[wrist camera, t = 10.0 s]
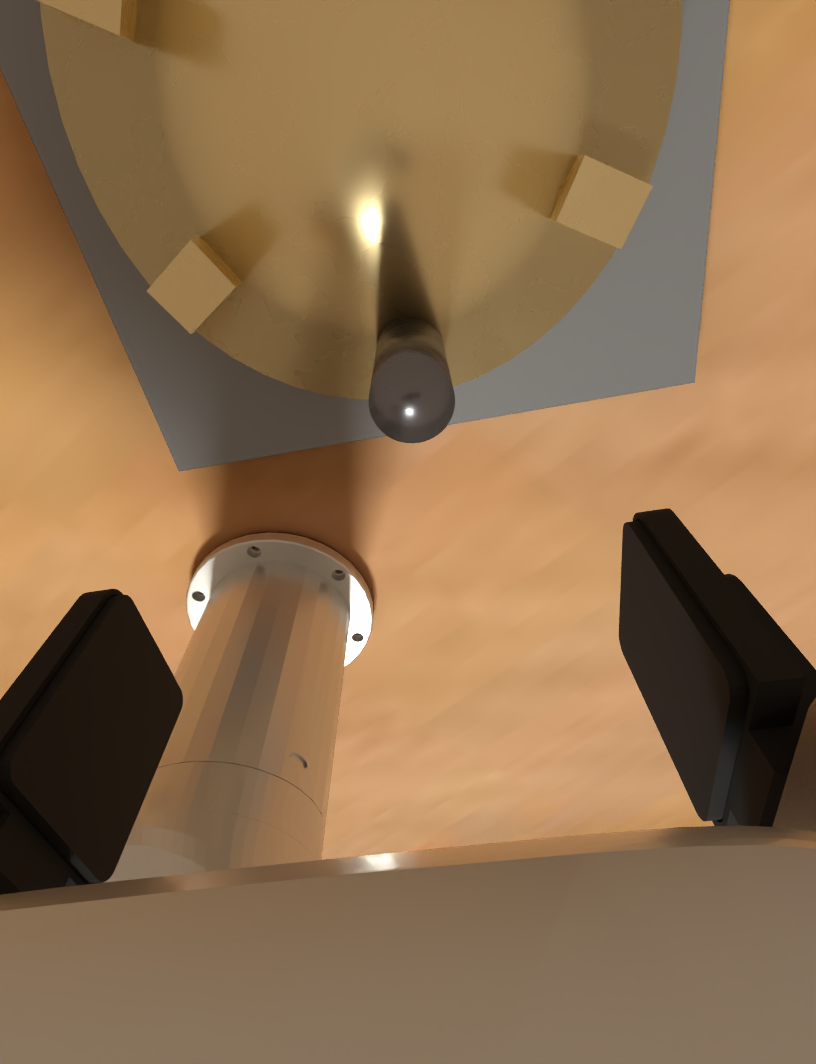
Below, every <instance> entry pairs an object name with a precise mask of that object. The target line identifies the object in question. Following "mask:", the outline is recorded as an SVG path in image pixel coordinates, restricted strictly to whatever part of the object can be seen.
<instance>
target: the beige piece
mask: <svg viewBox="0 0 816 1064" xmlns="http://www.w3.org/2000/svg"><path fill="white" fill-rule="evenodd" d="M36 1H39V2H40V10H41V20H42V27H43V34H44V40H45V47H46V53H47V60H48V67H49V72H50V76H51V80H52V84H53V88H54V92H55V95H56V99H57V103H58V107H59V111H60V115H61V119H62V122H63V125H64V128H65V131H66V133H67V136H68V139H69V142H70V145H71V147H72V150H73V153H74V156H75V158H76V161H77V164H78V167H79V169H80V171H81V173H82V175H83V177H84V180H85V182H86V184H87V186H88V188H89V190H90V192H91V194H92V196H93V198H94V201H95V203H96V205H97V207H98V209H99V211H100V213H101V214H102V216H103V218H104V219H105V221H106V223H107V224H108V226H109V228H110V229H111V231H112V233H113V234H114V236H115V238H116V239H117V241H118V243H119V244H120V246H121V248H122V249H123V250H124V252H125V253H126V254H127V256H128V257H129V258H130V260H131V261H132V263H133V264H134V265H135V267H136V268H137V269H138V271H139V272H140V273H141V275H142V276H143V277H144V279H145V280H146V281H147V283H148V284H149V285H150V287H149V289H148V290H147V292H148V293H149V294H150V295H151V296H152V297H153V298H154V299H155V300H156V301H157V302H158V303H159V304H160V305H161V306H162V307H163V308H164V309H165V310H166V311H167V312H168V313H169V314H170V315H172V316H173V317H174V318H175V319H176V320H177V321H178V322H179V323H180V324H181V325H182V326H183V327H184V328H185V329H186V330H187V331H188V332H189V333H190V334H192V333H194V332H195V331H197V332H198V333H199V334H200V335H201V336H202V337H204V338H205V339H207V340H208V341H209V342H211V343H212V344H214V345H215V346H217V347H218V348H219V349H221V350H222V351H224V352H225V353H227V354H228V355H229V356H231V357H232V358H234V359H236V360H238V361H239V362H241V363H243V364H245V365H247V366H249V367H250V368H252V369H254V370H256V371H258V372H260V373H261V374H264V375H266V376H268V377H271V378H273V379H276V380H278V381H281V382H283V383H286V384H288V385H291V386H293V387H297V388H301V389H305V390H308V391H312V392H316V393H319V394H323V395H329V396H336V397H343V398H351V399H369V411H370V414H371V417H372V419H373V421H374V423H375V424H376V426H377V427H378V428H379V429H380V430H381V431H382V432H383V433H384V434H385V435H387V436H388V437H390V438H392V439H394V440H397V441H400V442H405V443H419V442H423V441H426V440H429V439H431V438H433V437H435V436H436V435H438V434H439V433H440V432H442V431H443V430H444V429H445V427H446V426H447V425H448V423H449V422H450V420H451V418H452V415H453V413H454V408H455V394H454V389H453V387H454V386H456V385H459V384H462V383H464V382H467V381H469V380H472V379H475V378H477V377H480V376H481V375H483V374H485V373H487V372H489V371H491V370H493V369H494V368H496V367H498V366H500V365H502V364H504V363H506V362H508V361H509V360H511V359H512V358H513V357H515V356H516V355H518V354H519V353H521V352H522V351H523V350H525V349H526V348H528V347H529V346H531V345H532V344H533V343H535V342H536V341H537V340H538V339H540V338H541V337H542V336H543V335H544V334H545V333H546V332H547V331H549V330H550V329H551V328H552V327H553V326H554V325H555V324H556V323H558V322H559V321H560V320H561V319H562V318H563V317H564V316H565V315H566V314H567V313H568V312H569V310H570V309H571V308H572V307H573V306H574V305H575V304H576V303H577V301H578V300H579V299H580V298H581V297H582V296H583V295H584V294H585V293H586V291H587V290H588V289H589V288H590V286H591V285H592V284H593V282H594V281H595V279H596V278H597V277H598V275H599V274H600V272H601V271H602V270H603V268H604V267H605V265H606V264H607V263H608V261H609V260H610V258H611V257H612V255H613V254H614V252H615V250H616V248H619V249H622V247H623V245H624V243H625V241H626V239H627V237H628V235H629V233H630V231H631V229H632V227H633V225H634V223H635V221H636V219H637V217H638V215H639V213H640V211H641V209H642V207H643V205H644V203H645V201H646V199H647V197H648V195H649V193H650V191H651V189H652V187H653V186H652V185H650V184H649V181H650V179H651V176H652V173H653V170H654V167H655V164H656V161H657V158H658V154H659V151H660V148H661V145H662V142H663V139H664V136H665V132H666V128H667V123H668V119H669V114H670V109H671V104H672V100H673V95H674V90H675V86H676V80H677V71H678V61H679V52H680V43H681V34H682V0H36Z"/></svg>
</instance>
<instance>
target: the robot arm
mask: <svg viewBox="0 0 816 1064" xmlns="http://www.w3.org/2000/svg"><path fill="white" fill-rule="evenodd" d="M186 610H187V614H188V617H189V621H190V624H191V626H192V628H193V630H194V633H193V636H192V638H191V640H190V642H189V644H188V647H187V649H186V651H185V653H184V655H183V658H182V660H181V662H180V664H179V666H178V669H177V671H176V673H175V675H174V676H173V674H172V672H171V670H170V668H169V666H168V665H167V663H166V661H165V659H164V657H163V655H162V654H161V652H160V650H159V648H158V646H157V644H156V643H155V641H154V639H153V637H152V635H151V633H150V632H149V630H148V628H147V626H146V624H145V622H144V621H143V619H142V617H141V615H140V613H139V611H138V610H137V608H136V606H135V604H134V602H133V600H132V599H131V598H130V597H129V596H128V595H123V594H122V593H121V592H120V591H119V590H117V589H109V590H102V591H95V592H88V593H84V594H82V595H81V596H80V597H79V598H78V600H77V601H76V602H75V603H74V605H73V606H72V607H71V609H70V610H69V611H68V613H67V614H66V615H65V616H64V618H63V619H62V620H61V622H60V623H59V624H58V626H57V627H56V628H55V629H54V631H53V632H52V633H51V635H50V636H49V637H48V639H47V640H46V641H45V642H44V644H43V645H42V646H41V648H40V649H39V650H38V652H37V653H36V654H35V655H34V657H33V658H32V659H31V661H30V662H29V663H28V665H27V666H26V667H25V668H24V670H23V671H22V672H21V674H20V675H19V676H18V678H17V679H16V680H15V681H14V683H13V684H12V685H11V687H10V688H9V689H8V691H7V692H6V693H5V694H4V696H3V697H2V698H1V700H0V1064H816V670H815V668H814V667H813V666H812V665H811V664H810V663H809V661H808V660H807V659H806V658H805V657H804V655H803V654H802V653H801V652H800V651H799V649H798V648H797V647H796V646H795V645H794V643H793V642H792V641H791V640H790V639H789V637H788V636H787V635H786V634H785V633H784V632H783V630H782V629H781V628H780V627H779V626H778V624H777V623H776V622H775V621H774V620H773V618H772V617H771V616H770V615H769V614H768V612H767V611H766V610H765V609H764V608H763V606H762V605H761V604H760V603H759V602H758V601H757V599H756V598H755V597H754V596H753V595H752V593H751V592H750V591H749V590H748V589H747V587H746V586H745V585H744V584H743V583H742V581H740V580H739V579H738V578H737V577H736V576H734V575H731V574H726V575H724V574H723V573H722V571H721V570H720V569H719V568H718V567H717V565H716V564H715V563H714V562H713V560H712V559H711V558H710V557H709V555H708V554H707V553H706V552H705V550H704V549H703V548H702V547H701V546H700V544H699V543H698V542H697V541H696V539H695V538H694V537H693V536H692V534H691V533H690V532H689V531H688V529H687V528H686V527H685V526H684V525H683V523H682V522H681V521H680V520H679V518H678V517H677V516H676V515H675V513H674V512H673V511H672V510H671V509H660V510H653V511H646V512H639V513H636V514H635V515H634V517H633V522H626V523H625V524H624V526H623V541H622V567H621V592H620V617H619V640H620V645H621V649H622V652H623V655H624V657H625V659H626V661H627V663H628V665H629V668H630V670H631V672H632V674H633V676H634V678H635V680H636V683H637V685H638V687H639V689H640V691H641V693H642V696H643V698H644V700H645V702H646V704H647V706H648V709H649V711H650V713H651V715H652V717H653V719H654V721H655V724H656V726H657V728H658V730H659V732H660V734H661V737H662V739H663V741H664V743H665V745H666V747H667V750H668V752H669V754H670V756H671V758H672V760H673V762H674V765H675V767H676V769H677V771H678V773H679V775H680V778H681V780H682V782H683V784H684V786H685V788H686V791H687V793H688V795H689V797H690V799H691V801H692V803H693V806H694V808H695V810H696V812H697V814H698V816H699V817H700V818H701V819H702V820H703V821H711V820H712V821H713V823H714V825H715V826H708V827H678V828H665V829H653V830H640V831H627V832H614V833H601V834H589V835H576V836H564V837H553V838H543V839H532V840H522V841H511V842H501V843H490V844H480V845H469V846H459V847H449V848H438V849H428V850H417V851H407V852H396V853H386V854H376V855H366V856H356V857H346V858H336V859H326V860H321V859H322V850H323V842H324V834H325V822H326V814H327V806H328V798H329V789H330V781H331V773H332V765H333V757H334V748H335V740H336V732H337V724H338V715H339V707H340V699H341V691H342V682H343V674H344V666H346V665H347V664H349V663H350V662H351V661H353V660H354V659H355V658H356V657H357V656H358V655H359V654H360V653H361V651H362V650H363V648H364V646H365V645H366V643H367V642H368V639H369V636H370V633H371V631H372V623H373V601H372V598H371V594H370V591H369V588H368V586H367V584H366V583H365V581H364V579H363V577H362V575H361V574H360V573H359V572H358V571H357V569H356V568H355V567H354V566H353V565H352V564H351V563H350V562H349V561H348V560H347V559H345V558H344V557H343V556H342V555H340V554H339V553H338V552H336V551H334V550H333V549H331V548H329V547H327V546H326V545H324V544H322V543H319V542H316V541H314V540H311V539H308V538H306V537H301V536H297V535H292V534H287V533H258V534H250V535H246V536H242V537H239V538H236V539H232V540H230V541H228V542H226V543H225V544H223V545H221V546H219V547H217V548H216V549H215V550H213V551H212V552H211V553H210V554H209V555H207V556H206V557H205V558H204V560H203V561H202V562H201V564H200V565H199V566H198V568H197V569H196V571H195V573H194V575H193V577H192V579H191V581H190V583H189V587H188V590H187V595H186Z"/></svg>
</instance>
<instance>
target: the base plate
mask: <svg viewBox="0 0 816 1064" xmlns="http://www.w3.org/2000/svg"><path fill="white" fill-rule="evenodd" d="M729 2H730V0H682V34H681V43H680V52H679V61H678V71H677V80H676V86H675V90H674V95H673V100H672V104H671V109H670V114H669V119H668V123H667V128H666V132H665V136H664V139H663V142H662V145H661V148H660V151H659V154H658V158H657V161H656V164H655V167H654V170H653V173H652V176H651V179H650V181H649V184H650V185H652V186H653V187H652V189H651V191H650V193H649V195H648V197H647V199H646V201H645V203H644V205H643V207H642V209H641V211H640V213H639V215H638V217H637V219H636V221H635V223H634V225H633V227H632V229H631V231H630V233H629V235H628V237H627V239H626V241H625V243H624V245H623V247H622V249H619V248H616V250H615V252H614V254H613V255H612V257H611V258H610V260H609V261H608V263H607V264H606V265H605V267H604V268H603V270H602V271H601V272H600V274H599V275H598V277H597V278H596V279H595V281H594V282H593V284H592V285H591V286H590V288H589V289H588V290H587V291H586V293H585V294H584V295H583V296H582V297H581V298H580V299H579V300H578V301H577V303H576V304H575V305H574V306H573V307H572V308H571V309H570V310H569V312H568V313H567V314H566V315H565V316H564V317H563V318H562V319H561V320H560V321H559V322H558V323H556V324H555V325H554V326H553V327H552V328H551V329H550V330H549V331H547V332H546V333H545V334H544V335H543V336H542V337H541V338H540V339H538V340H537V341H536V342H535V343H533V344H532V345H531V346H529V347H528V348H526V349H525V350H523V351H522V352H521V353H519V354H518V355H516V356H515V357H513V358H512V359H511V360H509V361H508V362H506V363H504V364H502V365H500V366H498V367H496V368H494V369H493V370H491V371H489V372H487V373H485V374H483V375H481V376H480V377H477V378H475V379H472V380H469V381H467V382H464V383H462V384H459V385H456V386H454V387H453V389H454V394H455V408H454V413H453V415H452V418H451V420H450V422H449V423H448V425H451V424H457V423H463V422H469V421H474V420H480V419H486V418H492V417H498V416H503V415H509V414H515V413H521V412H527V411H532V410H538V409H544V408H550V407H556V406H561V405H567V404H573V403H579V402H585V401H590V400H596V399H602V398H608V397H613V396H619V395H625V394H631V393H637V392H642V391H648V390H654V389H660V388H666V387H671V386H677V385H683V384H689V383H695V373H696V362H697V351H698V341H699V330H700V319H701V308H702V297H703V286H704V275H705V264H706V253H707V242H708V231H709V220H710V209H711V199H712V188H713V177H714V166H715V155H716V144H717V133H718V122H719V111H720V100H721V89H722V78H723V67H724V57H725V46H726V35H727V24H728V13H729ZM0 69H1V71H2V73H3V76H4V78H5V80H6V82H7V85H8V87H9V89H10V91H11V94H12V96H13V98H14V100H15V103H16V105H17V107H18V109H19V112H20V114H21V116H22V118H23V121H24V123H25V125H26V127H27V130H28V132H29V134H30V136H31V139H32V141H33V143H34V146H35V148H36V150H37V152H38V155H39V157H40V159H41V161H42V164H43V166H44V168H45V170H46V173H47V175H48V177H49V179H50V182H51V184H52V186H53V188H54V191H55V193H56V195H57V197H58V200H59V202H60V204H61V206H62V209H63V211H64V213H65V215H66V218H67V220H68V222H69V224H70V227H71V229H72V231H73V233H74V236H75V238H76V240H77V242H78V245H79V247H80V249H81V251H82V254H83V256H84V258H85V260H86V263H87V265H88V267H89V269H90V272H91V274H92V276H93V278H94V281H95V283H96V285H97V287H98V290H99V292H100V294H101V296H102V299H103V301H104V303H105V305H106V308H107V310H108V312H109V315H110V317H111V319H112V321H113V324H114V326H115V328H116V330H117V333H118V335H119V337H120V339H121V342H122V344H123V346H124V348H125V351H126V353H127V355H128V357H129V360H130V362H131V364H132V366H133V369H134V371H135V373H136V375H137V378H138V380H139V382H140V384H141V387H142V389H143V391H144V393H145V396H146V398H147V400H148V402H149V405H150V407H151V409H152V411H153V414H154V416H155V418H156V420H157V423H158V425H159V427H160V429H161V432H162V434H163V436H164V438H165V441H166V443H167V445H168V447H169V450H170V452H171V454H172V456H173V459H174V461H175V463H176V465H177V468H178V470H179V471H185V470H191V469H196V468H202V467H208V466H214V465H220V464H225V463H231V462H237V461H243V460H249V459H254V458H260V457H266V456H272V455H278V454H283V453H289V452H295V451H301V450H306V449H312V448H318V447H324V446H330V445H335V444H341V443H347V442H353V441H359V440H364V439H370V438H376V437H382V436H387V435H385V434H384V433H383V432H382V431H381V430H380V429H379V428H378V427H377V426H376V424H375V423H374V421H373V419H372V417H371V414H370V411H369V399H351V398H343V397H336V396H329V395H323V394H319V393H316V392H312V391H308V390H305V389H301V388H297V387H293V386H291V385H288V384H286V383H283V382H281V381H278V380H276V379H273V378H271V377H268V376H266V375H264V374H261V373H260V372H258V371H256V370H254V369H252V368H250V367H249V366H247V365H245V364H243V363H241V362H239V361H238V360H236V359H234V358H232V357H231V356H229V355H228V354H227V353H225V352H224V351H222V350H221V349H219V348H218V347H217V346H215V345H214V344H212V343H211V342H209V341H208V340H207V339H205V338H204V337H202V336H201V335H200V334H199V333H198V332H197V331H195V332H194V333H192V334H190V333H189V332H188V331H187V330H186V329H185V328H184V327H183V326H182V325H181V324H180V323H179V322H178V321H177V320H176V319H175V318H174V317H173V316H172V315H170V314H169V313H168V312H167V311H166V310H165V309H164V308H163V307H162V306H161V305H160V304H159V303H158V302H157V301H156V300H155V299H154V298H153V297H152V296H151V295H150V294H149V293H148V292H147V290H148V289H149V287H150V285H149V284H148V283H147V281H146V280H145V279H144V277H143V276H142V275H141V273H140V272H139V271H138V269H137V268H136V267H135V265H134V264H133V263H132V261H131V260H130V258H129V257H128V256H127V254H126V253H125V252H124V250H123V249H122V248H121V246H120V244H119V243H118V241H117V239H116V238H115V236H114V234H113V233H112V231H111V229H110V228H109V226H108V224H107V223H106V221H105V219H104V218H103V216H102V214H101V213H100V211H99V209H98V207H97V205H96V203H95V201H94V198H93V196H92V194H91V192H90V190H89V188H88V186H87V184H86V182H85V180H84V177H83V175H82V173H81V171H80V169H79V167H78V164H77V161H76V158H75V156H74V153H73V150H72V147H71V145H70V142H69V139H68V136H67V133H66V131H65V128H64V125H63V122H62V119H61V115H60V111H59V107H58V103H57V99H56V95H55V92H54V88H53V84H52V80H51V76H50V72H49V67H48V60H47V53H46V47H45V40H44V34H43V27H42V20H41V10H40V2H39V1H36V0H0Z"/></svg>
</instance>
